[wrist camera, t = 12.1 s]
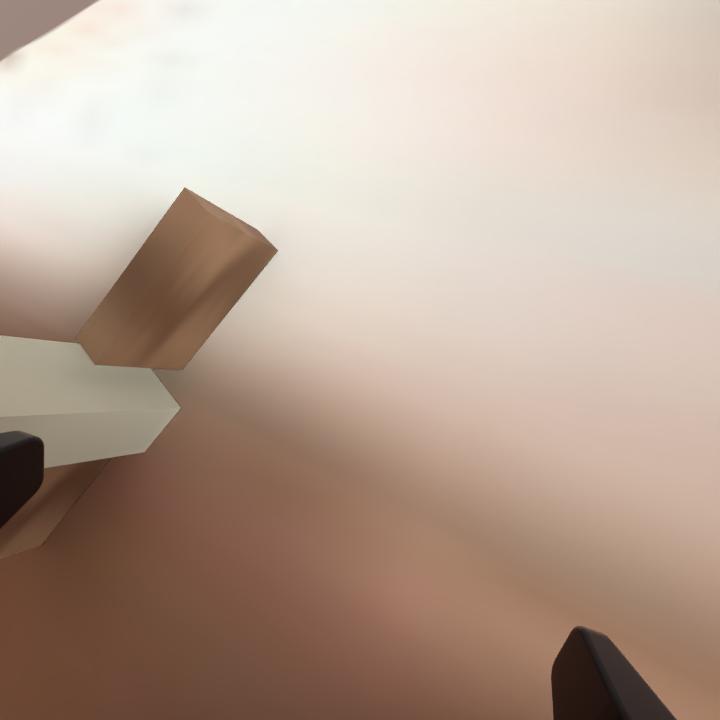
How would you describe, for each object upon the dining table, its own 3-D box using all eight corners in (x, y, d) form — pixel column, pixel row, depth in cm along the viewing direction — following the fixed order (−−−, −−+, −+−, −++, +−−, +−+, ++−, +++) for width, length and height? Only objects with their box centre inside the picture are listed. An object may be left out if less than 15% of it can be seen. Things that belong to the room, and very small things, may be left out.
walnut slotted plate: (257, 229, 20) (184, 187, 16) (277, 250, 20) (208, 212, 15) (27, 523, 24) (-79, 551, 20) (40, 546, 24) (-66, 579, 19)
